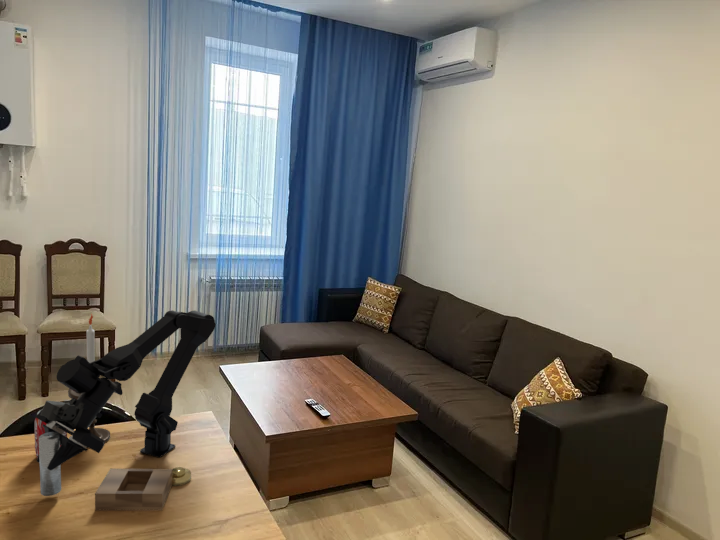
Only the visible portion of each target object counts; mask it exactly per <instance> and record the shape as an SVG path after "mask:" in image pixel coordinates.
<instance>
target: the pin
mask: <svg viewBox="0 0 720 540" xmlns="http://www.w3.org/2000/svg"><path fill="white" fill-rule="evenodd" d="M59 448H60V434H59V433H57V432H48V433H45V434H42V435H40V436H39V463H38V464H39V481H40V483H39V484H40V486H39V487H40V494H41V496H44V497H51V496H52V497H53V496H55V495H57V494H59V493H60V492H61V491H62V472H61V470H62V469H61V467H62V466H61V465H62V464H61V465H59V466H57V467H56V468H54V469H53V470H49V469H47V467H48V465H49V464H50V462H51V460H52V459H53V457H54V456H55V454H56V453H57V451H58V450H59Z"/></svg>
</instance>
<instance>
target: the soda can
mask: <svg viewBox="0 0 720 540" xmlns="http://www.w3.org/2000/svg"><path fill="white" fill-rule="evenodd" d="M41 410H43V408H42V409H40V410H39V411H37V413H36V416H37V415H38V414H39V412H40V411H41ZM43 424H44V425H46V424H47V423H45V422H43V421H41V420H39V419H37V418H36V417H35V419H34V428H33V429H34V451H35V457H36V459H37V458H38V455H39V436H40V435H42V434H45V430H44V427H43ZM66 429H67V428H66ZM63 435H64V436H66V437H67V438H68V433H67V432H65V431H64V433H63ZM61 445H62V444H61ZM61 445H60V447H61Z"/></svg>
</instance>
